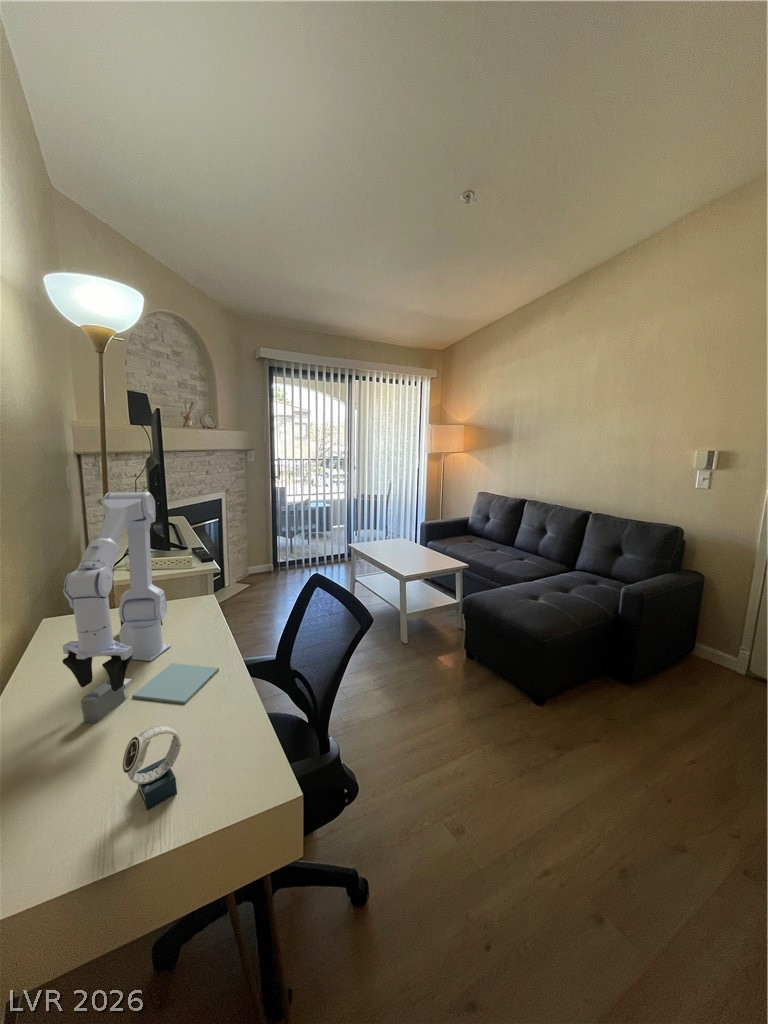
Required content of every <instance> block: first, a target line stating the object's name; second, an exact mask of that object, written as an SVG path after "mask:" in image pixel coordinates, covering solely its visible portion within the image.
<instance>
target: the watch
mask: <svg viewBox="0 0 768 1024" xmlns="http://www.w3.org/2000/svg"><path fill="white" fill-rule="evenodd" d="M165 734H169V735H172V739H171V742H170V746H169V749H168V751H167V753H166V755H165V757H164V758H161V759H159V760H158V761H156V762H153V763H151V764H150V765H148V766H146V767H144V768H141V767H143V765H144V762H145V759H146V757H147V752H148V748H149V745H150V744H151V740H152V739H153V738H155V737H157V736H159V735H165ZM181 746H182V743H181V739H180V737H179V735H178V733H177V731H176V730H175V729H174V727H172V726H170V725H167V724H158V725H154V726H151V727H149V728H146V729H145V730H142V731H141V732H139V734H137V736H133V737H132V738H131V739H130V740H129V742H128V744H127V746H126V748H125V752H124V755H123V759H122V771H123V773H124V774H127V776H128V778H129V780H130V781H131V782H132V783H134V784H137V789H139V790H138V793H139V794H140V797H141V800H142V802H143V804H144V806H145V809H146V811H147V810H148V811H149V809H150V810H151V809H153V808H154V807H156V806H159V805H160V804H162V803H163V802H165V801H167V800H169V799H170V798H172V797H174V796H175V794H176V795H177V794H178V789H177V780H176V775H175V774H174V772H173V770H172V767H173V766H174V764H175V762H176V760H177V758H178V756H179V754H180V750H181ZM171 796H172V797H171ZM168 798H169V799H168ZM166 799H167V800H166ZM161 802H162V803H161Z"/></svg>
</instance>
